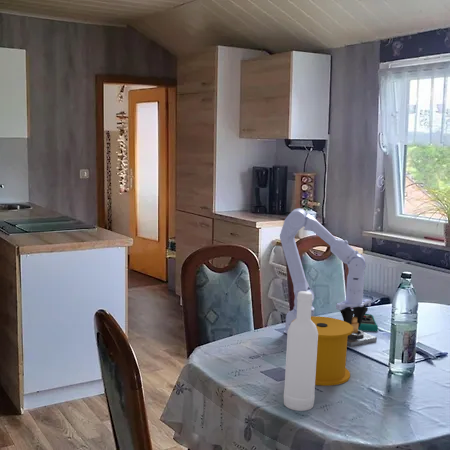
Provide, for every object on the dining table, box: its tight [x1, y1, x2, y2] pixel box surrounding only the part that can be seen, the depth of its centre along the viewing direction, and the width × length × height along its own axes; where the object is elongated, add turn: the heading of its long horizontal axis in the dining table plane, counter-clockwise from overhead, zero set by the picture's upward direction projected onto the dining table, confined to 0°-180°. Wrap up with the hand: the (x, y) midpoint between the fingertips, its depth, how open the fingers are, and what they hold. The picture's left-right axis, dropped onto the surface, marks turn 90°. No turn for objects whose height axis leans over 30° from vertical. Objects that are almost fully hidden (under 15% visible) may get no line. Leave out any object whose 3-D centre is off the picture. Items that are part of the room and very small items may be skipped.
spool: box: [291, 315, 353, 387], centre depth 183 cm, size 18×18×15 cm
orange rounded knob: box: [351, 315, 359, 333], centre depth 216 cm, size 4×4×5 cm
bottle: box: [283, 291, 318, 412], centre depth 160 cm, size 8×8×30 cm
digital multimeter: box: [358, 313, 379, 332], centre depth 233 cm, size 7×15×3 cm, turn 174°
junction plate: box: [347, 330, 378, 347], centre depth 217 cm, size 12×12×2 cm
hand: (352, 327), depth 216 cm, fingers closed on orange rounded knob, 4 cm apart
